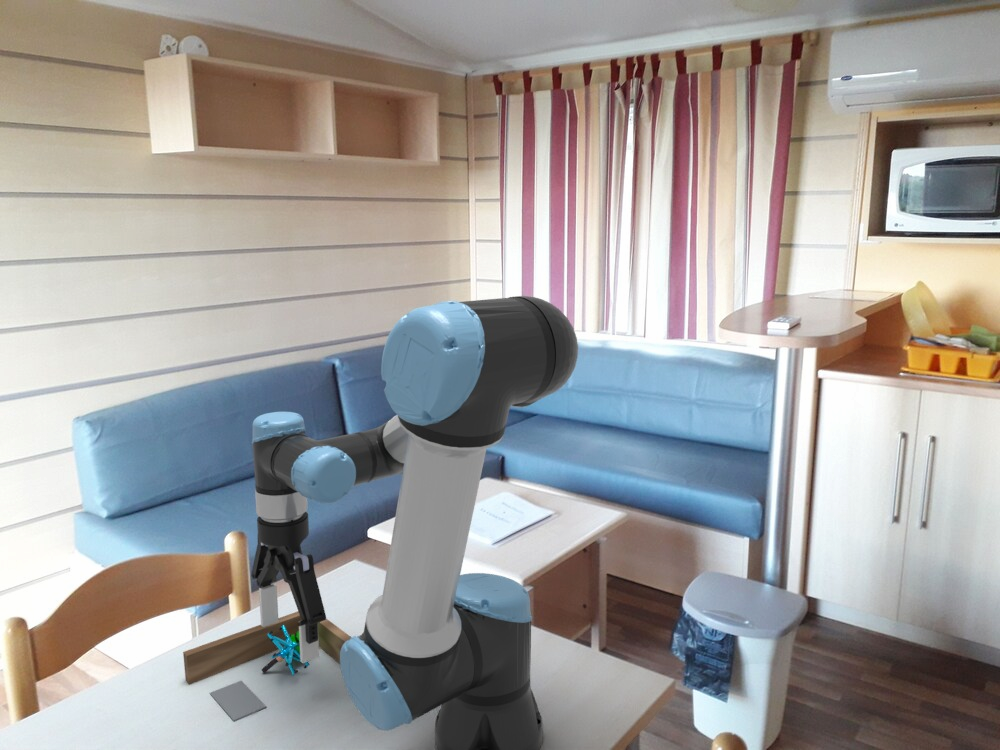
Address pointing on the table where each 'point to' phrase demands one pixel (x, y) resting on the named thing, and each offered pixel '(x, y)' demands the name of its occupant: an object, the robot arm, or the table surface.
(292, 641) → the stick construction toy
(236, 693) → the pad
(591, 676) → the table surface
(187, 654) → the wooden corner wall
